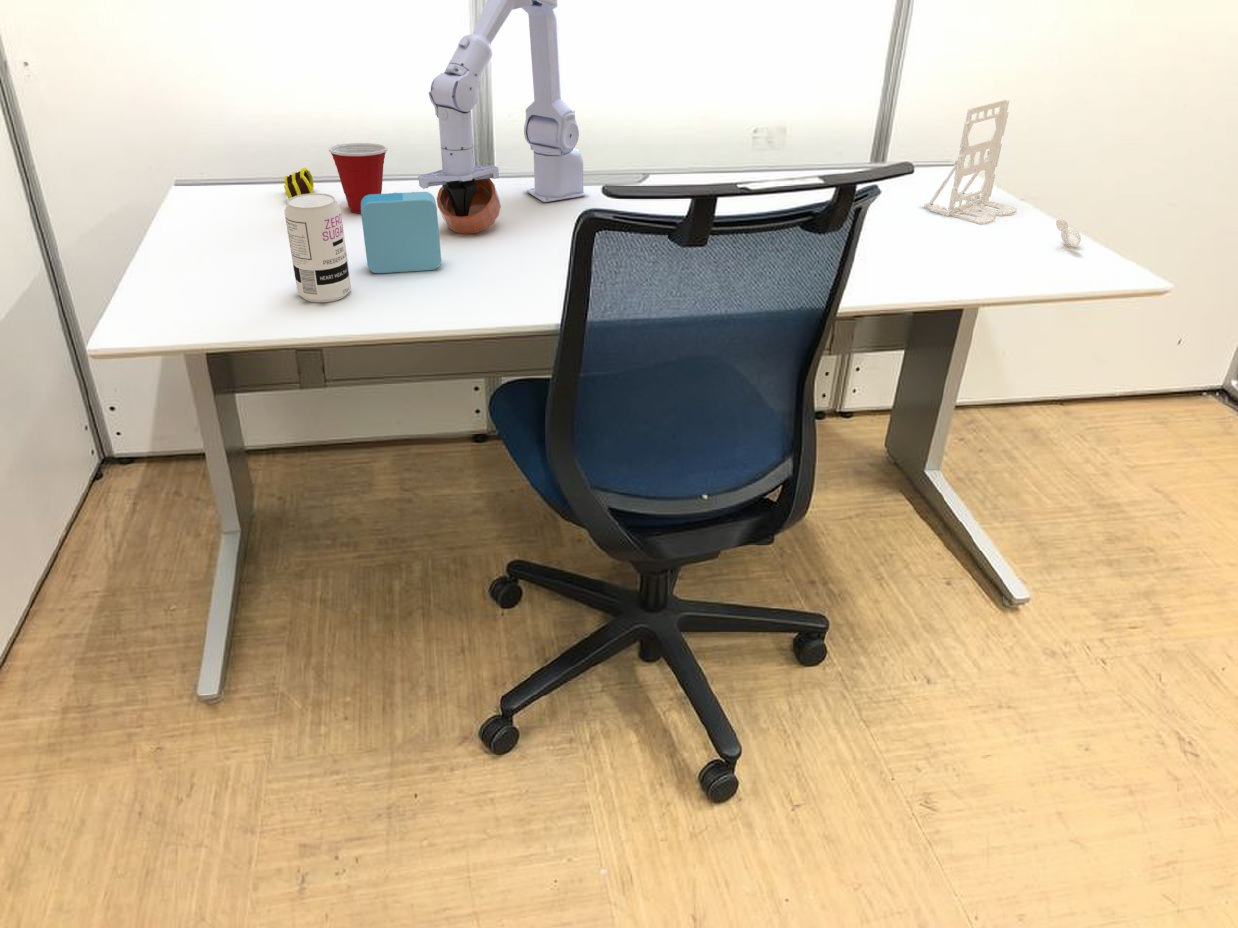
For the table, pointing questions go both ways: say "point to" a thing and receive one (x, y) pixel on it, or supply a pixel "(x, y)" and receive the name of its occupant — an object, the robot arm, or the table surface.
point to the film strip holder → (977, 171)
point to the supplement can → (318, 247)
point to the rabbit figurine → (1068, 234)
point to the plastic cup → (359, 170)
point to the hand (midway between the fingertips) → (462, 221)
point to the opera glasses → (299, 183)
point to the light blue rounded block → (401, 232)
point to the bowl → (472, 209)
